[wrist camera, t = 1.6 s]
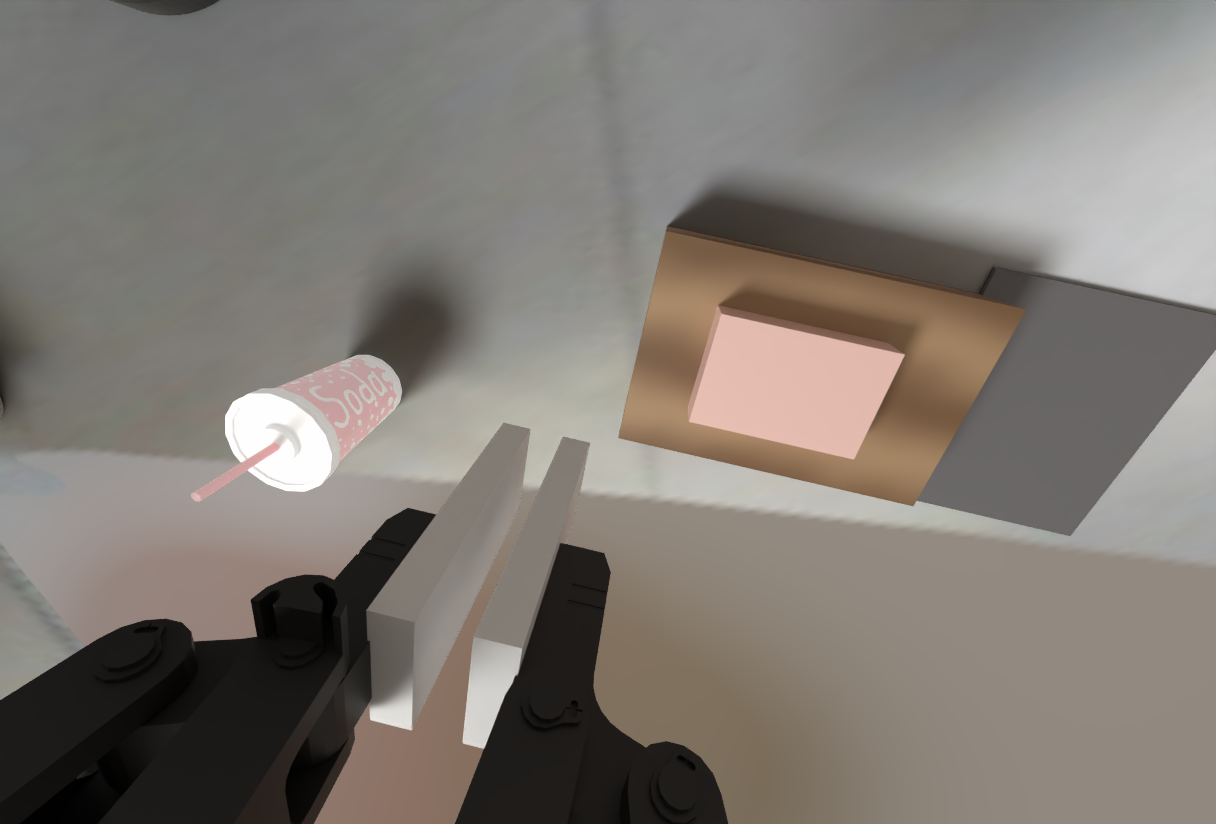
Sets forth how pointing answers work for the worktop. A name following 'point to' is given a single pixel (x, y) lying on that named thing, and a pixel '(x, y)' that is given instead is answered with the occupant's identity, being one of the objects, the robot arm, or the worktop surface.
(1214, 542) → the worktop surface
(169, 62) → the worktop surface
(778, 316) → the brown wooden slab
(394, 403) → the beverage cup
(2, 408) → the house plant
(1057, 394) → the mat
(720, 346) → the block
